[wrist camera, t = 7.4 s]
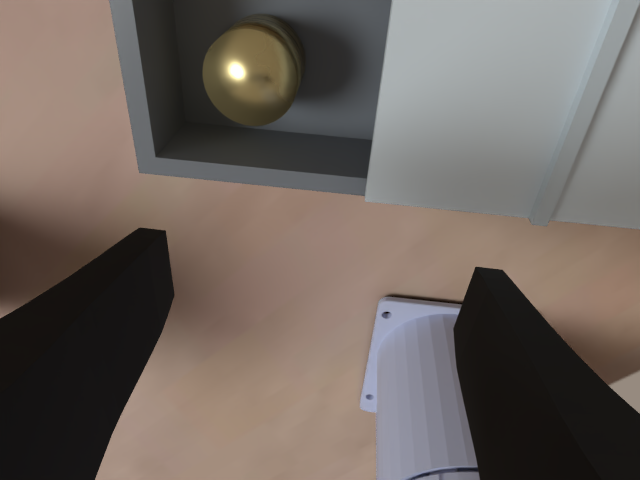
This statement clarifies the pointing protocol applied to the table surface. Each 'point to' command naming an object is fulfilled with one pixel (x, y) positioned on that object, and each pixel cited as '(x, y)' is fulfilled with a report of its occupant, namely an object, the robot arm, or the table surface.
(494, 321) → the robot arm
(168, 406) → the table surface
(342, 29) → the tub
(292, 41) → the brass knob
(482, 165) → the lid
